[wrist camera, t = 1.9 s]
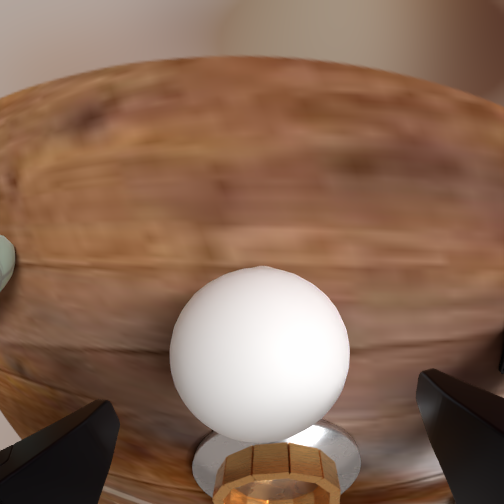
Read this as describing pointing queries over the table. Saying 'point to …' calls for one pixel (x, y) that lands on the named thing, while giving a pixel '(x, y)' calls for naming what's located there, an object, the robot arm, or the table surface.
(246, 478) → the wooden ring on plate
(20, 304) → the table surface
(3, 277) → the robot head
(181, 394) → the lightbulb
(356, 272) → the table surface
